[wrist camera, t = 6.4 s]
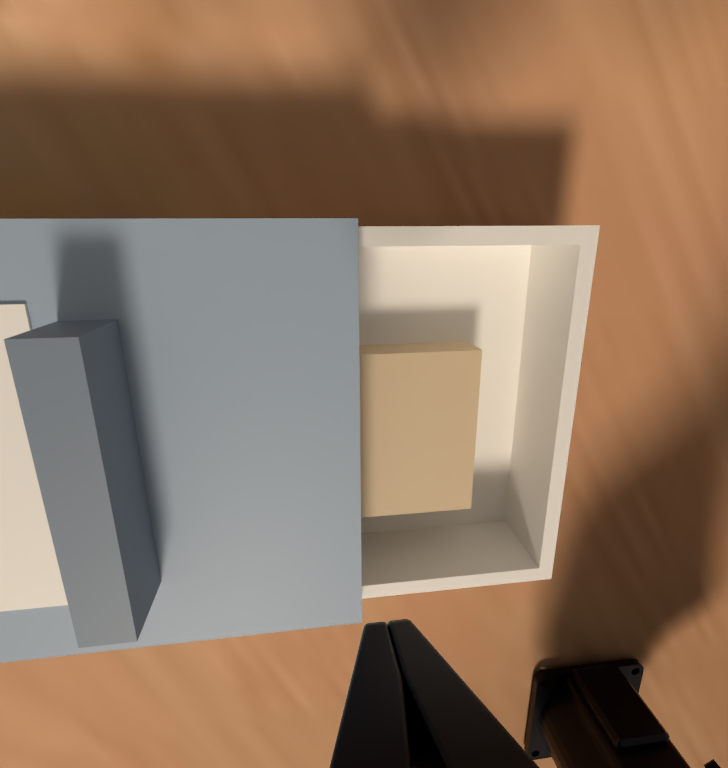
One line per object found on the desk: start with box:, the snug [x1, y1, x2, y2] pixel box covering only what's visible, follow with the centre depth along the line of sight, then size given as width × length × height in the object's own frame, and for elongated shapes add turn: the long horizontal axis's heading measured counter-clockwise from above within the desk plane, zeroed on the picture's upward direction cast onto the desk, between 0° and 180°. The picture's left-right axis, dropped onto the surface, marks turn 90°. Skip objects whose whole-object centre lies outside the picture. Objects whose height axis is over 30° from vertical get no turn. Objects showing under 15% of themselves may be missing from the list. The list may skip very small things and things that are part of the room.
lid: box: [0, 218, 362, 663], centre depth 14 cm, size 14×15×3 cm
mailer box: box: [358, 226, 600, 599], centre depth 18 cm, size 14×15×4 cm
